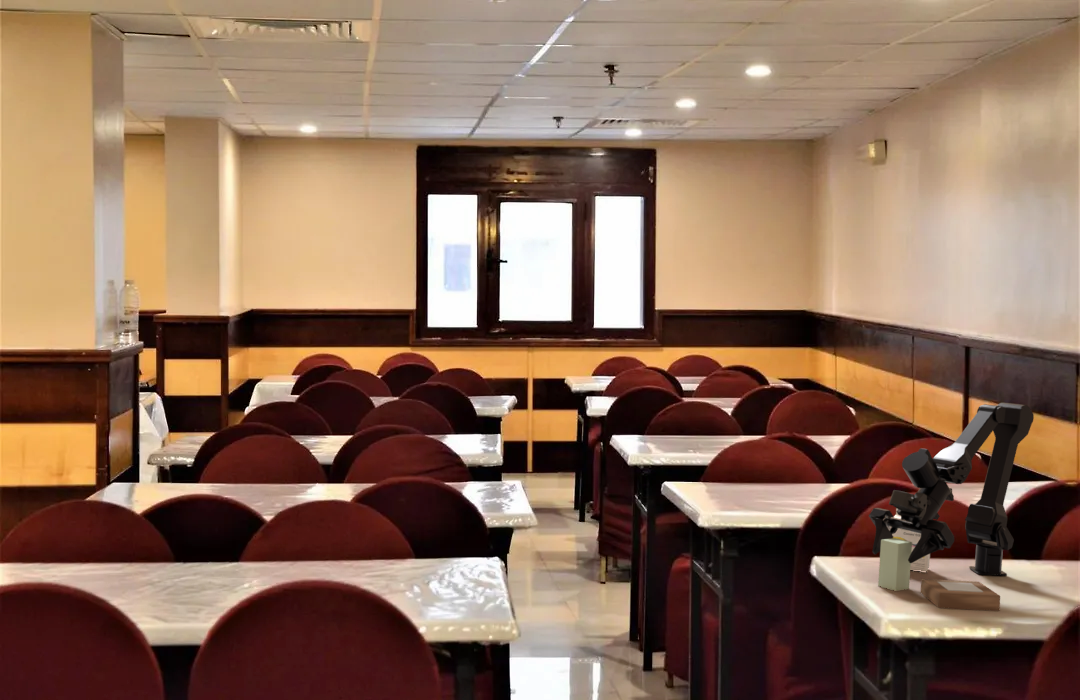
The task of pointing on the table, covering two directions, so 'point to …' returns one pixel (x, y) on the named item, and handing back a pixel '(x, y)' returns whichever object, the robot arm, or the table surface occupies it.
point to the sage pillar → (894, 564)
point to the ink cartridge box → (914, 538)
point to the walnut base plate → (960, 594)
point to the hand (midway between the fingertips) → (891, 557)
